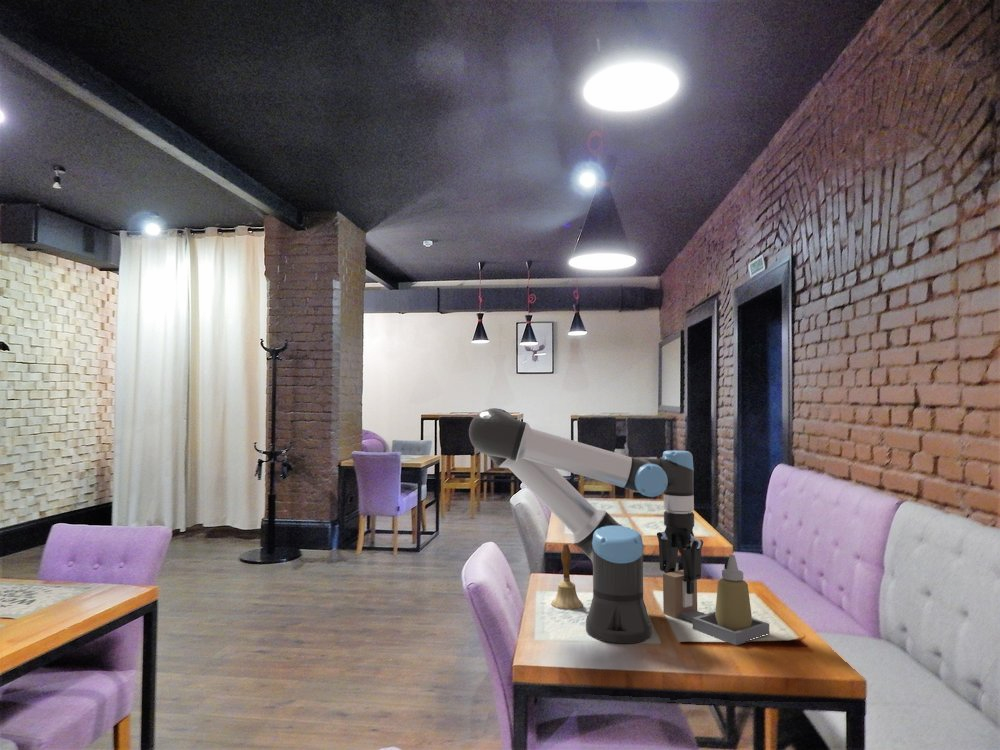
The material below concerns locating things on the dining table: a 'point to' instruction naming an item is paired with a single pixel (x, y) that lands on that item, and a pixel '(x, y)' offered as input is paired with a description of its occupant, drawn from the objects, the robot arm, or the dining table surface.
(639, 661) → the dining table surface
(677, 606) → the grey tray with block
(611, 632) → the robot arm
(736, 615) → the squeeze bottle
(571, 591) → the hand bell
